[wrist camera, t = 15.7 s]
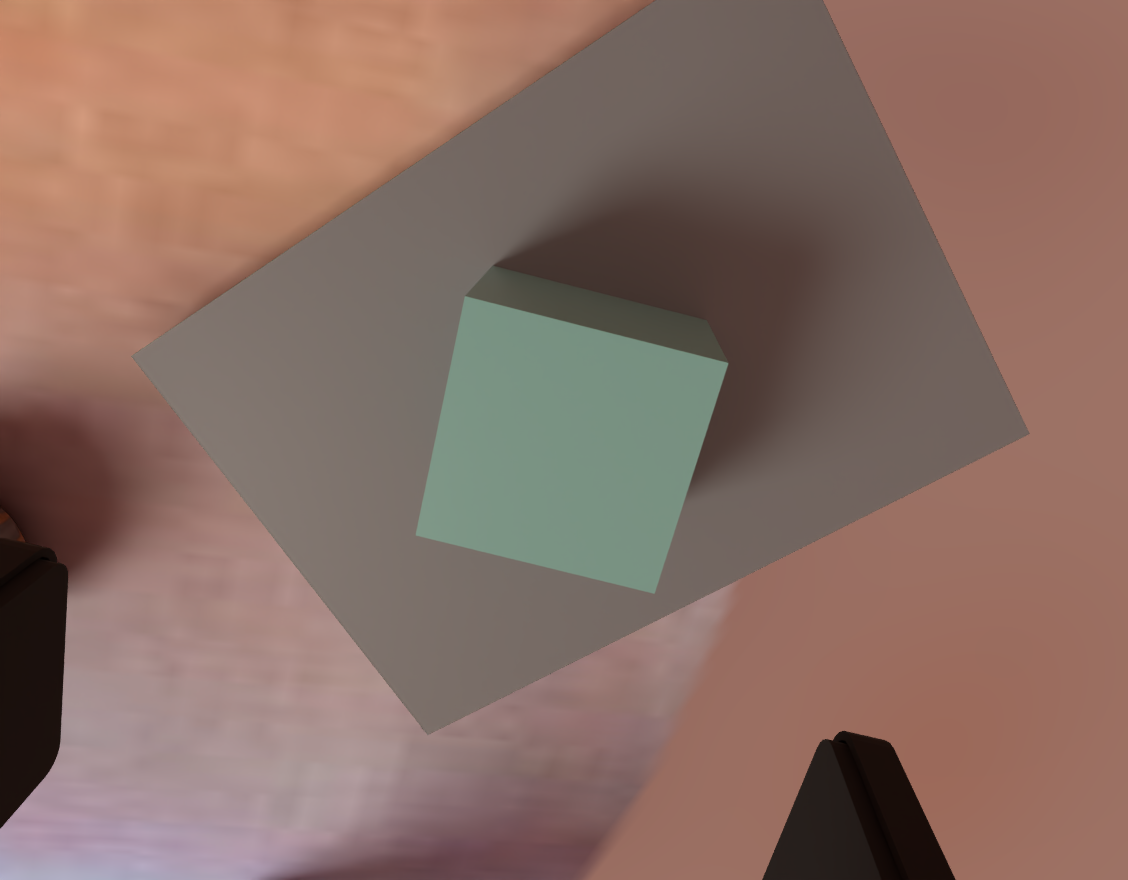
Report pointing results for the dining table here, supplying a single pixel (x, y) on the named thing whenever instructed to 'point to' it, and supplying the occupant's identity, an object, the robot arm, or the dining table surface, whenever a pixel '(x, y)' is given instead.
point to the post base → (617, 268)
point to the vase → (9, 527)
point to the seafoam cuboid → (570, 428)
